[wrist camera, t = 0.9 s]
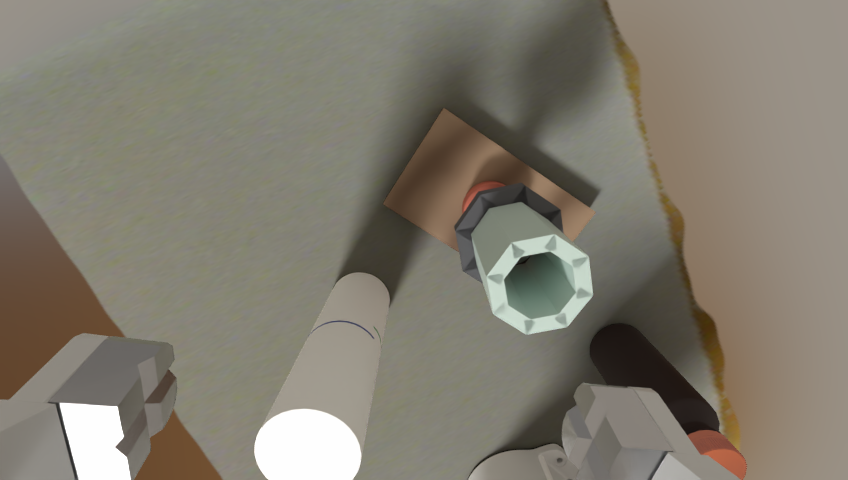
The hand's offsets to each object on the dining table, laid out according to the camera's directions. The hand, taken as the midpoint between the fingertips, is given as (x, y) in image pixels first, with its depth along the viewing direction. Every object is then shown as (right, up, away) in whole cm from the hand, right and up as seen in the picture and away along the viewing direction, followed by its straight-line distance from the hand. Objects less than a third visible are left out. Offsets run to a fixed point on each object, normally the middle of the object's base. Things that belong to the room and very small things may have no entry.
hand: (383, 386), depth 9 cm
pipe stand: (+8, +7, +41) cm, 43 cm away
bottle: (+25, -10, +46) cm, 54 cm away
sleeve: (+8, +3, +27) cm, 28 cm away
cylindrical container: (-7, -4, +45) cm, 46 cm away
